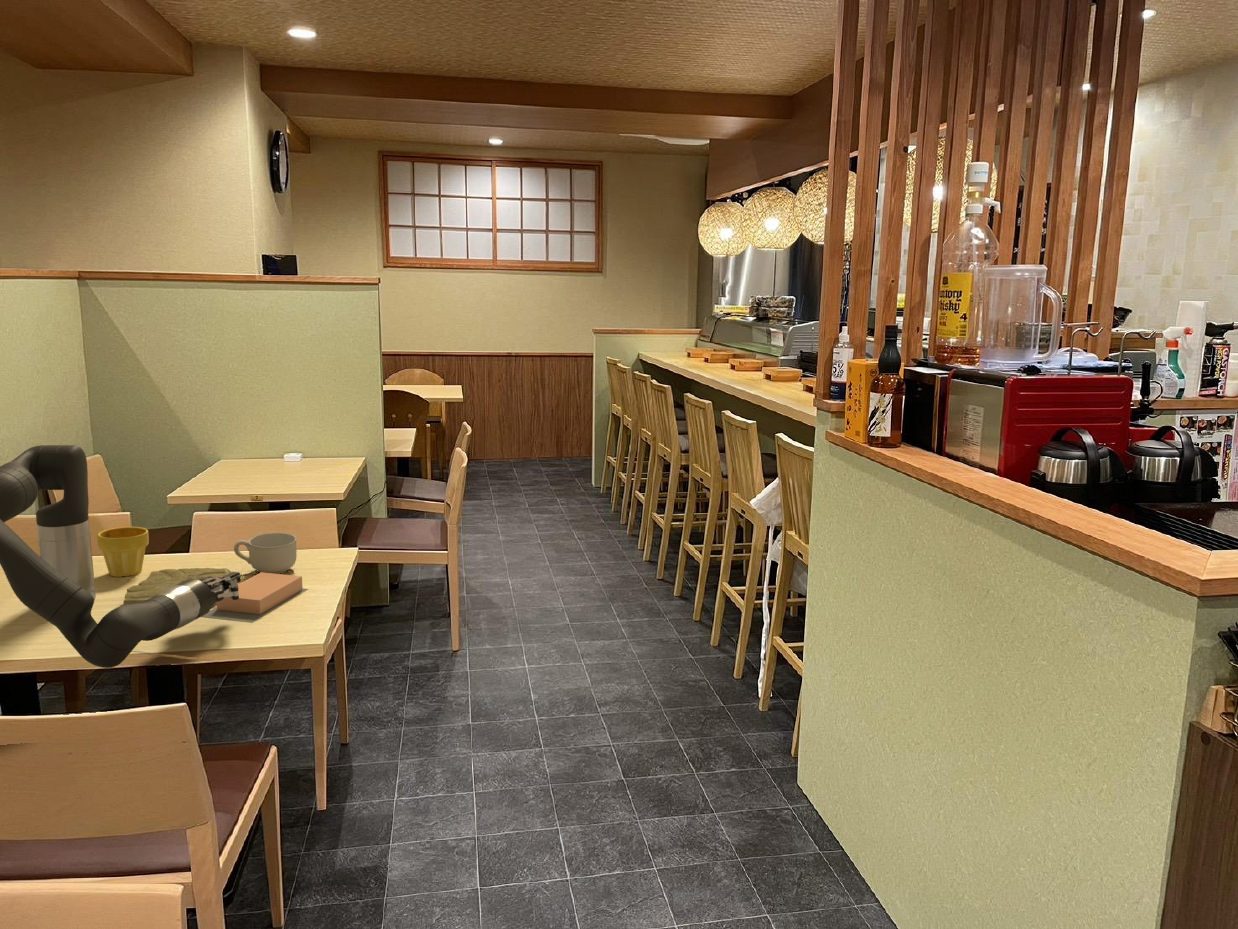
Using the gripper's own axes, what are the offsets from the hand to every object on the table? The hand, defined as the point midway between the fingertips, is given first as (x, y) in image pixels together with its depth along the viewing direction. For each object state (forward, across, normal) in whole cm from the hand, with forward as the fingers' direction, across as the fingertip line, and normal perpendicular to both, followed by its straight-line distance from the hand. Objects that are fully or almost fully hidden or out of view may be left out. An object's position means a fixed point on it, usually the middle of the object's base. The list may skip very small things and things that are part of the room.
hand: (237, 576), depth 182 cm
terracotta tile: (0, 0, -6) cm, 6 cm away
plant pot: (+16, -40, -8) cm, 44 cm away
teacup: (+27, -11, -8) cm, 30 cm away
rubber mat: (+6, 0, -8) cm, 10 cm away
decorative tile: (+7, -19, -9) cm, 22 cm away
